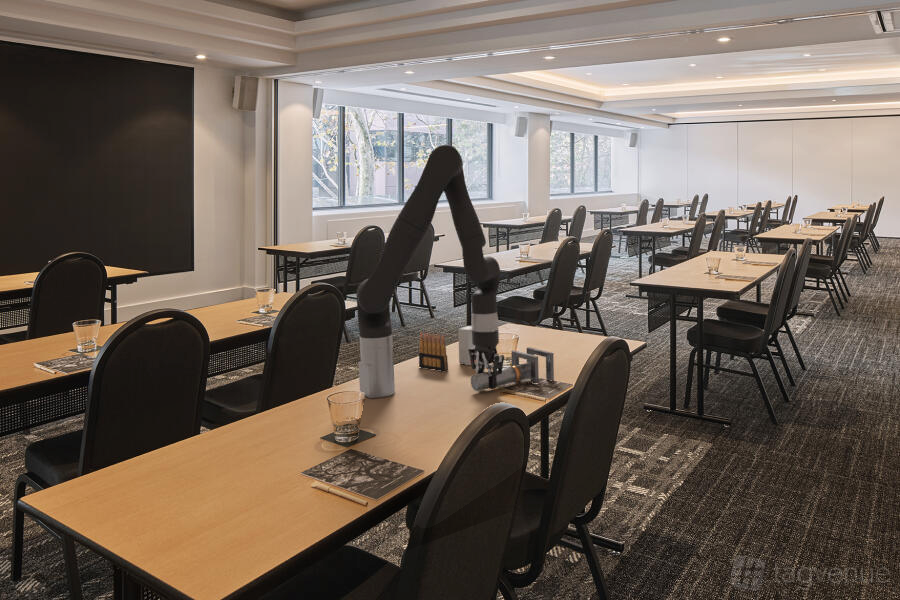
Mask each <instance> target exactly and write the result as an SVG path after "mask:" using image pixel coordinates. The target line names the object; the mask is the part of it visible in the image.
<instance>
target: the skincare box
mask: <svg viewBox="0 0 900 600" xmlns="http://www.w3.org/2000/svg"><path fill="white" fill-rule="evenodd" d="M457 331H458V333H457V334H458V335H457V336H458V337H457V338H458V361H459V362H458V363H460V364H459V365H461V364H465V365H464V366H468V365H469V366H472V365H471V360H470V355H469V349H471V348H475V346H474V345H473V344H472V325H467V326H463V327H461V328H458V329H457ZM474 362H476V360H474Z"/></svg>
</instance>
